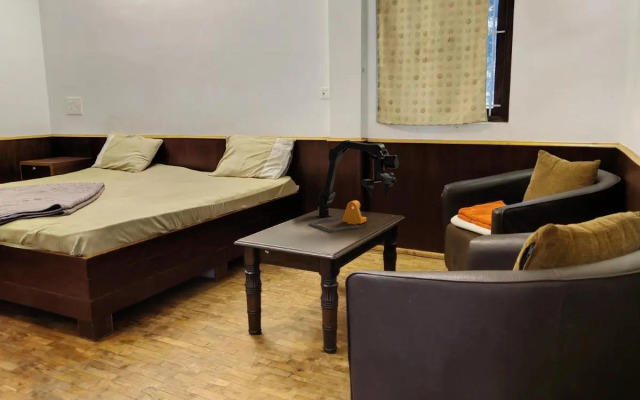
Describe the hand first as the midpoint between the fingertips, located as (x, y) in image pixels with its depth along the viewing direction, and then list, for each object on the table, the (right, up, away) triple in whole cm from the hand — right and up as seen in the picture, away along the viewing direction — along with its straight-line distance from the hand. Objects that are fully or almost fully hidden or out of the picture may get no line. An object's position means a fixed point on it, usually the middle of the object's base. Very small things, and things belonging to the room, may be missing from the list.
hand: (379, 197), depth 268 cm
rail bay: (-23, -15, -3) cm, 28 cm away
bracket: (-12, -14, +4) cm, 19 cm away
